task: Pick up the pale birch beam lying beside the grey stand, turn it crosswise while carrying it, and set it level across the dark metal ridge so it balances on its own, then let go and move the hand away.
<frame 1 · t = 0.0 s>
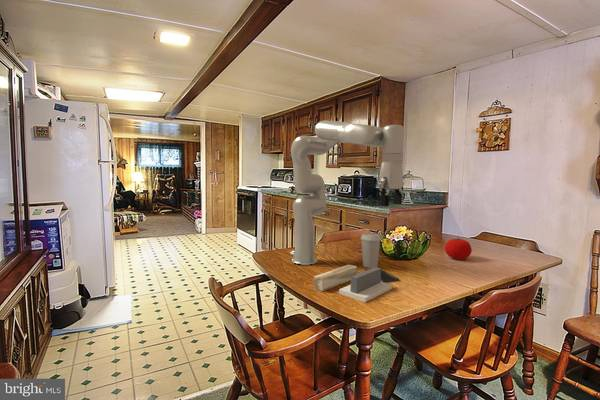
hand: (391, 205, 120), 31 cm above the table, tool pointing down, fingers open, 9 cm apart
coffee cup: (370, 266, 148), on the table
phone: (380, 277, 134), on the table
ridge stand: (366, 290, 117), on the table
beam: (336, 283, 125), on the table
tomato: (457, 259, 161), on the table
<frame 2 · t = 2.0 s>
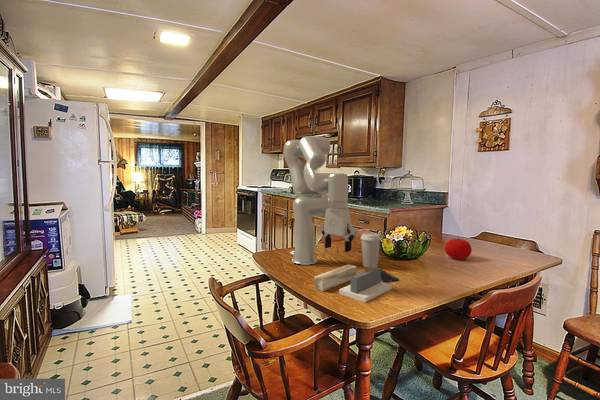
hand: (337, 249, 123), 14 cm above the table, tool pointing down, fingers open, 9 cm apart
nothing on the table moved.
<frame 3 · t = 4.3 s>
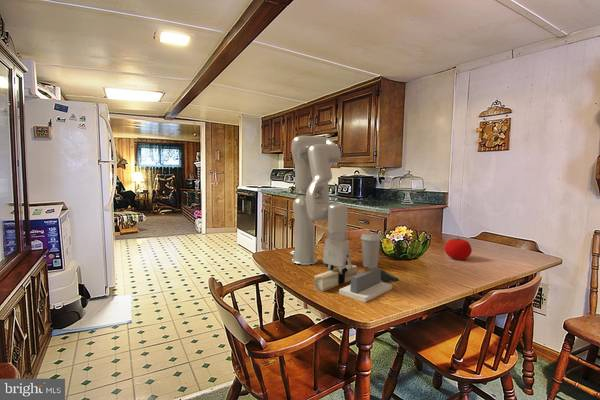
hand: (336, 281, 125), 1 cm above the table, tool pointing down, fingers closed on beam, 4 cm apart
beam: (336, 283, 125), on the table, touching gripper
everything else where it was.
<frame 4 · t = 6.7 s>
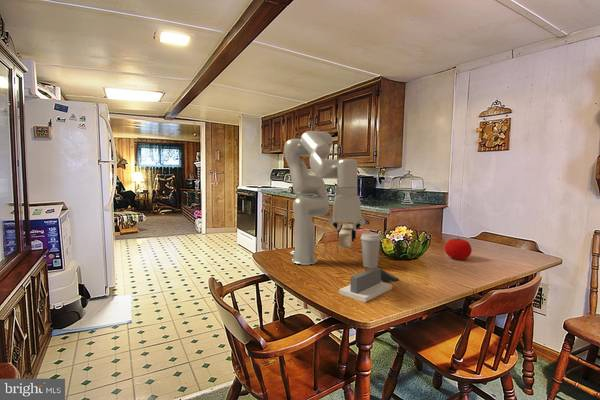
hand: (346, 239, 121), 18 cm above the table, tool pointing down, fingers closed on beam, 4 cm apart
beam: (346, 241, 121), point 17 cm above the table, touching gripper
everything else where it was.
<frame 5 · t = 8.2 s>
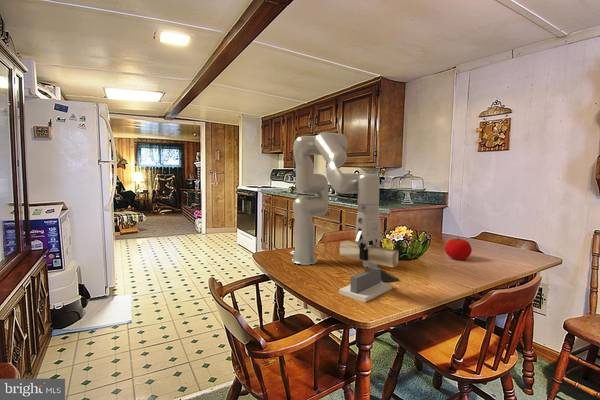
hand: (367, 258, 116), 12 cm above the table, tool pointing down, fingers closed on beam, 4 cm apart
beam: (367, 259, 116), point 12 cm above the table, touching gripper
everything else where it was.
when the fingers open (8 cm above the table, at t = 9.6 s): beam stays where it is, resting on ridge stand.
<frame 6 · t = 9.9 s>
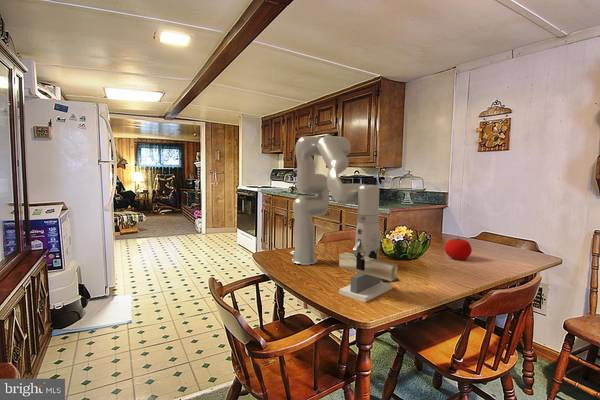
hand: (366, 267, 116), 9 cm above the table, tool pointing down, fingers open, 7 cm apart
beam: (366, 272, 116), point 7 cm above the table, touching ridge stand
everything else where it was.
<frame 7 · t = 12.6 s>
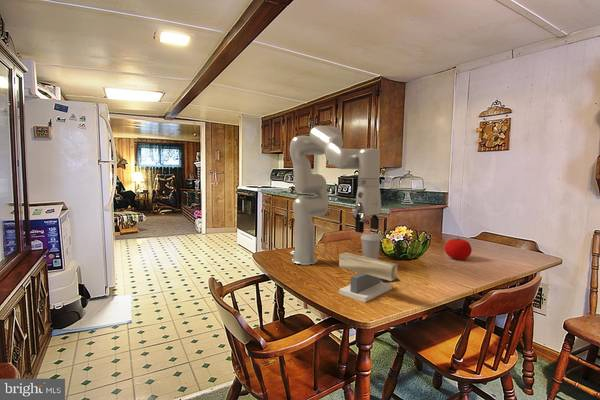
hand: (367, 230, 116), 22 cm above the table, tool pointing down, fingers open, 9 cm apart
nothing on the table moved.
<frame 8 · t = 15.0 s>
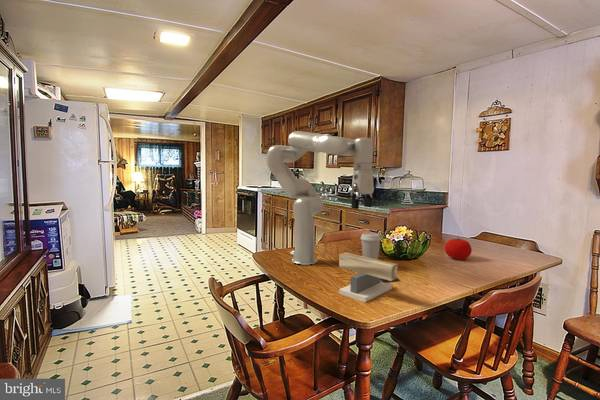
hand: (361, 207, 136), 28 cm above the table, tool pointing down, fingers open, 9 cm apart
nothing on the table moved.
at the end: beam 0.0 cm off-centre on the ridge stand, point 7.0 cm above the ridge stand's base; beam tilted 0°; the gripper is holding nothing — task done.
